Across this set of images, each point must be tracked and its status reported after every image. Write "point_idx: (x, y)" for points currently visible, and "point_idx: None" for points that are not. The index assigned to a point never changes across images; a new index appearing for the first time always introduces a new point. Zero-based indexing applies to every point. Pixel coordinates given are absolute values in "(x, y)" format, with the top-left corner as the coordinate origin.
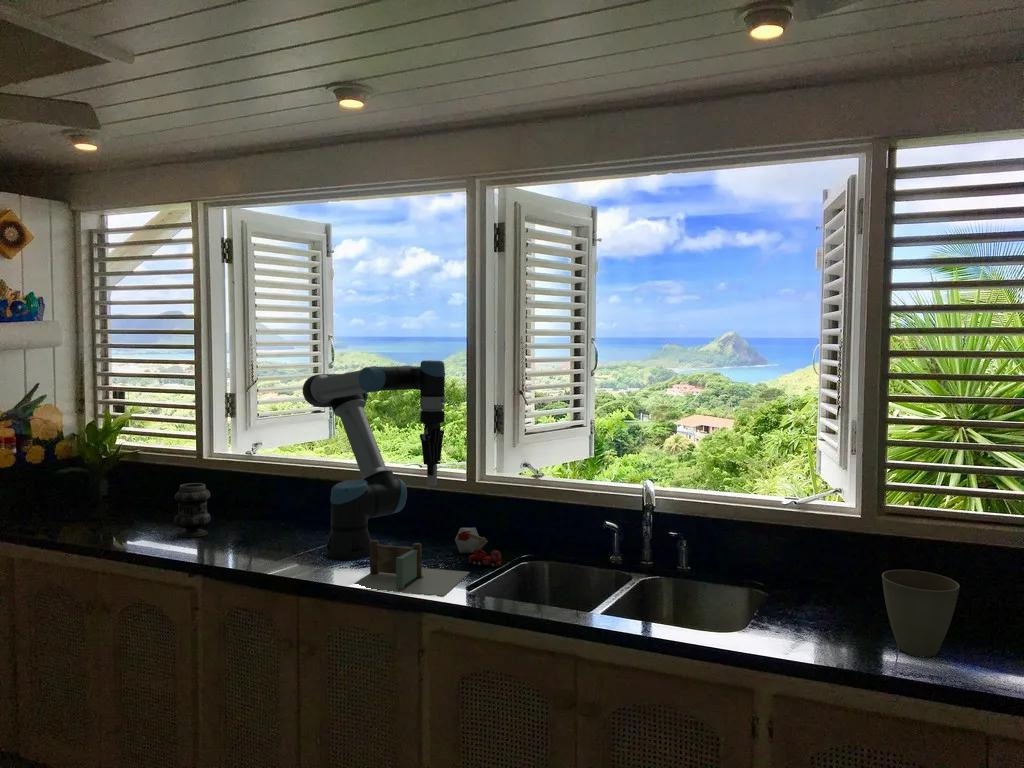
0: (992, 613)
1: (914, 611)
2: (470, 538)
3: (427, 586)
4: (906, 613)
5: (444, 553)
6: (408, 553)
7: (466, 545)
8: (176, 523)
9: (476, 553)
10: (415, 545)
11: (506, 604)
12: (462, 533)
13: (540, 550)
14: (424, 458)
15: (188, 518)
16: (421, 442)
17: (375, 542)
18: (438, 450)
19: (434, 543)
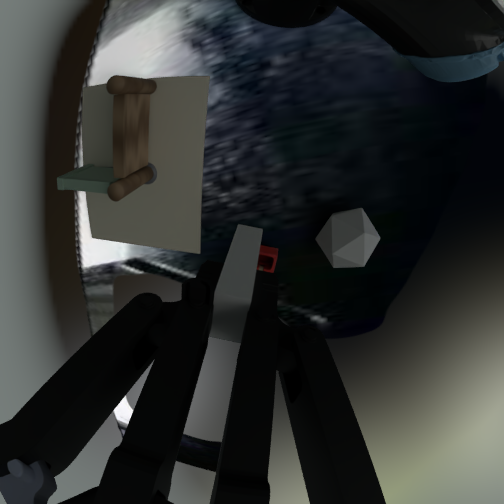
0: (216, 470)
1: None
2: (326, 252)
3: (112, 205)
4: None
5: (327, 181)
6: (85, 186)
7: (316, 238)
8: None
9: None
10: (107, 191)
11: (104, 306)
12: (272, 256)
13: (349, 334)
14: (116, 324)
15: None
16: (18, 412)
17: (108, 92)
18: (294, 423)
19: (405, 147)
